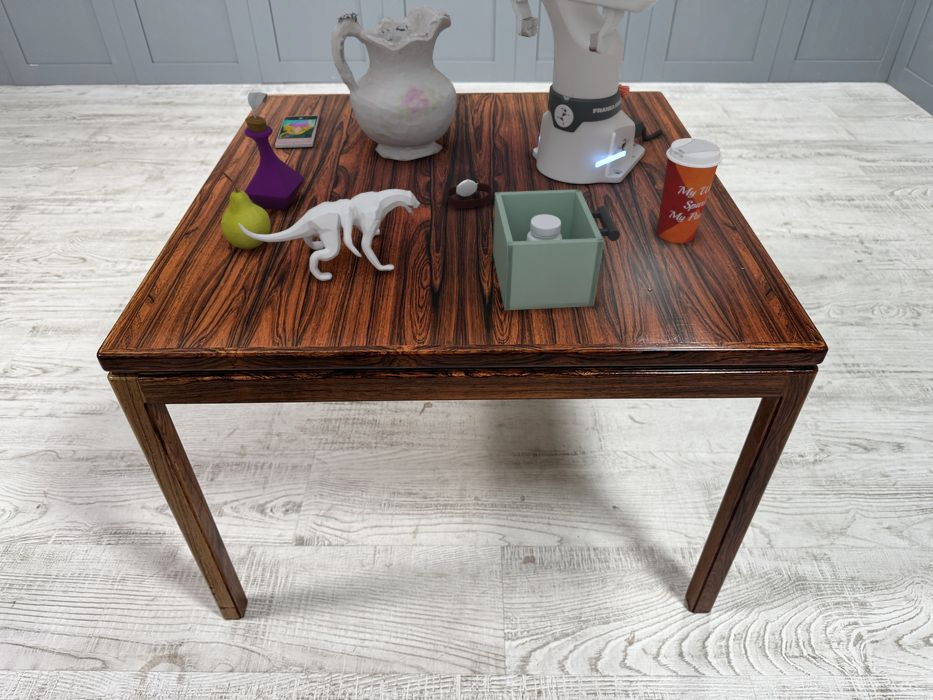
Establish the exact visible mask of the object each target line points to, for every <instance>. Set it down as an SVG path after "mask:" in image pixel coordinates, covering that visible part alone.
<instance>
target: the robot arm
mask: <svg viewBox="0 0 933 700" xmlns="http://www.w3.org/2000/svg"><path fill="white" fill-rule="evenodd" d="M540 1H541V2H542V4H543V6H544V9H545V12H546V13H547V16H548V18H549V19H548V20H549V22H550V26H551V30H552V37H553V70H552V74H553V75H552V83H551V84H550V86H549V90H548V94H547V109H548V110H547V111H545V112H544V113H543V115H542V118H541V125H540V132H539V137H538V143H537V147H534V148H533V149H532V154H531V155H532V157H533V158H534V159H535V160H536V162H535V164H536V168H537V170H538V171H539V173H541V174H542V175H544V176H545V177H547V178H549V179H552V180H554V181H558V182H563V183H568V184H577V185H589V184H596V183H610V184H618V183H621V182H623V180H624V179H626V177H627V176H628V175H629V173H630V172H631V171H632V170H633V169H634V168H635V166H636V165H637V164H638V163H639V162H640V161H641V159H642V158H643V157H644V155H645V154H646V148H644V147H643V146H642V145H641V144H639V143H637V142H635V140H636V139H639V138H642V139H643V140H644V141H647V142H648V141H651V140H654V139H655V138H657V137H658V136H660V135H662V134H663V132H664V130H662V129H661V128H660V129H657V130H656V131H655V132H653V133H652V134H649V135H647V128H646V126H645V125H644V123H645V122H644V121H643V120H640V119H637V118H634V117H632V116H629V115H627V114H626V113H625V112H624V110H623V109H622V98H623V99H627V98H628V96H629V94H630V91H631V90H630V89H631V88H630V86H629V85H623V84H621V83H620V79H621V72H622V64H623V57H624V53H625V52H624V51H625V46H624V41H623V37H622V36H621V34H620V32H619V30H618V29H616V28H617V27H618V26H619V25H620V23H621V22H622V20H623V19H624V17H625V12H629V13H633V14H638V13H642V12H645V11H648V10H650V9H652V8H654V6H655V5H656V4H657V3H658V2H659V0H540ZM509 2H510V4H511V6H512V8H513V11H514V14H515V16H516V19H517V35H518V36H520V37H524V38H525V37H526V38H532V37H536V35H537V34H538V27H537V26H538V24H539V18H538V17H534V16H533V14H532V10H531V8H530V3H529V0H510V1H509ZM598 7H600V8H601V7H602V11H601V12H600V11H599V9H598Z"/></svg>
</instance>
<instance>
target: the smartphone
mask: <svg viewBox="0 0 933 700" xmlns="http://www.w3.org/2000/svg"><path fill="white" fill-rule="evenodd" d="M319 122H320V115H318V114H317V115H315V114H314V115H285V116H284V118H283V120H282V123H281V125H280V128H279V131H278V134H277V137H276V140H275V143H274V147H275V148H276V149H278V148H279V149H280V148H281V149H283V148H285V149H286V148H312V147H314V143H315V139H316V135H317V129H318V125H319Z"/></svg>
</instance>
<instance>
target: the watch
mask: <svg viewBox="0 0 933 700" xmlns="http://www.w3.org/2000/svg"><path fill="white" fill-rule="evenodd" d="M475 192H484V193H487V195H486V196H483V197H480V198H474V199H473V198H472V199H466V200H464V199H463V200H462V199H456V198H453V197H451V196H454V195H459V196H461V197H469V196H472V195H473V194H474V193H475ZM492 192H493V188H492V186H491V185H490V184H488V183H483V182H481V183H479V182H475V181H474V180H471V179H469V178H467V179H465V180H463V181H461V182H460V183H458V185H455V186H452V187H450V188H448V189H447V191H446V202H447V203H448V204H449V205H450V206H452V207H454V208H458V209H474V208H476V207H479V206H483V205H486V204H487V203H489V202H490V200H491V198H492Z"/></svg>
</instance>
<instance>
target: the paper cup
mask: <svg viewBox="0 0 933 700" xmlns="http://www.w3.org/2000/svg"><path fill="white" fill-rule="evenodd" d="M721 153H722V152H721V149H720V147H719V146H718V145H717V144H716V143H714V142H711V141H709V140H706V139H702V138H695V137H685V138H679V139H676V140H674V141H672V143H671V144H670V147H669V148H668V149H667V150H666V153H665V155H666V157H667V160H666V168H665V173H664V181H663V186H662V194H661V199H660V206H659V207H660V208H659V215H658V222H657V235H658V237H660V238H661V239H663V240H664V241H666V242H669V243H673V244H686V243H687V244H688V243H689V242H691V241H693V239H694V238H695V235H696V232H697V229H698V227H699V224H700V221H701V218H702V215H703V212H704V210H705V209H704V208H705V206H706V203H707V200H708V196H709V194H710V191H711V188H712V184H713V183H714V179H715V175H716V172H717V169H718V166H719V165H720V164H721V163H722V162H723V161H722V160H723V157H722V155H721Z"/></svg>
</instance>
